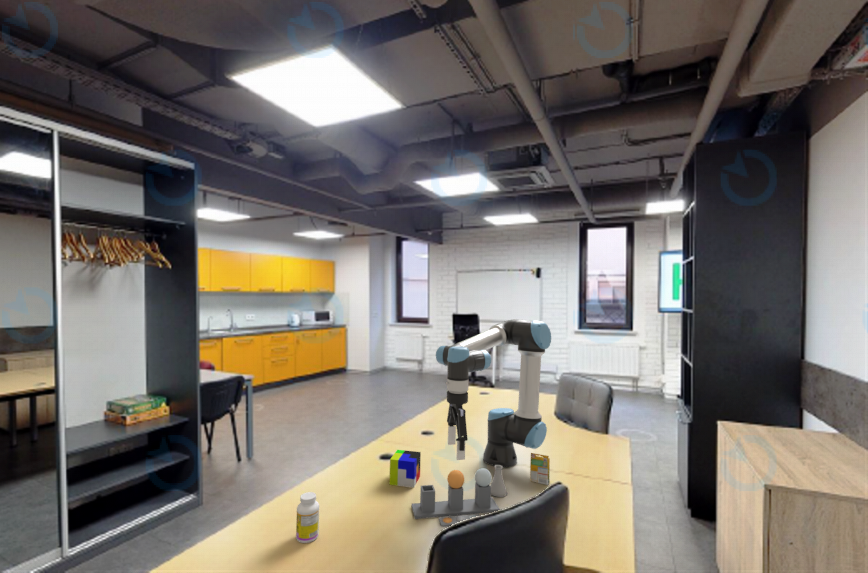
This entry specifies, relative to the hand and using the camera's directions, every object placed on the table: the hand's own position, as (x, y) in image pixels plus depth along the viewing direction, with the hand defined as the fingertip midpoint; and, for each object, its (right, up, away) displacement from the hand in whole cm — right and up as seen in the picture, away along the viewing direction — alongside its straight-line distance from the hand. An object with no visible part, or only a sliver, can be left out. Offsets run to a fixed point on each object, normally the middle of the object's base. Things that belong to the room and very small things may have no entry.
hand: (455, 451), depth 142 cm
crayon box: (+35, -22, +22) cm, 47 cm away
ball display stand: (0, -20, 0) cm, 20 cm away
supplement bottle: (-47, -19, -18) cm, 54 cm away
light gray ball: (+10, -10, +2) cm, 14 cm away
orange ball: (0, -10, 0) cm, 10 cm away
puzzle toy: (-19, -20, +21) cm, 35 cm away
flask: (+17, -21, +12) cm, 29 cm away
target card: (+1, -20, -8) cm, 22 cm away
